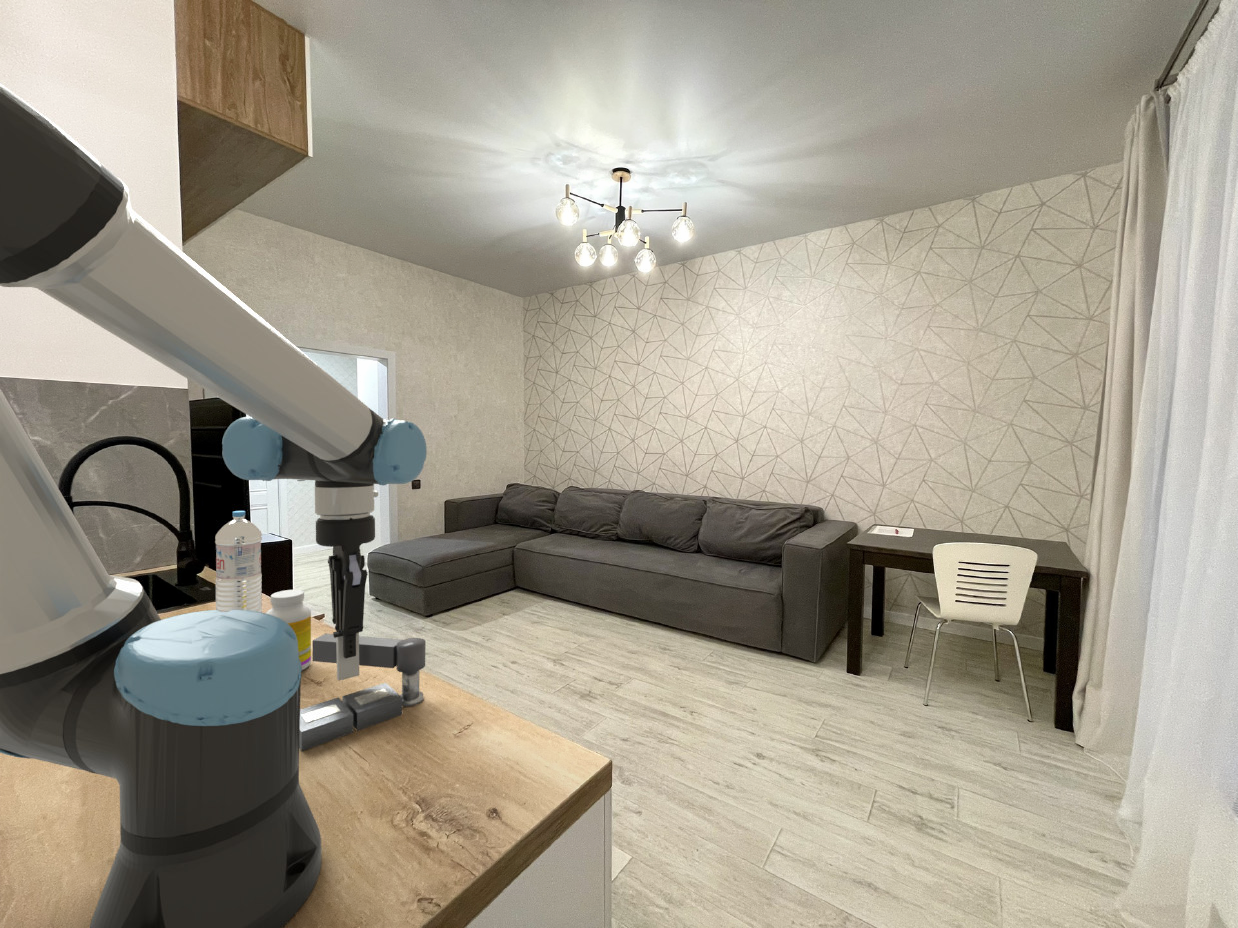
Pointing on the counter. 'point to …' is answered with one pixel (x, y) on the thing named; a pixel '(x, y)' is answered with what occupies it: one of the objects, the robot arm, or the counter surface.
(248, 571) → the water bottle
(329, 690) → the counter surface
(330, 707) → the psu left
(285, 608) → the supplement bottle
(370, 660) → the cable arm
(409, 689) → the pivot post
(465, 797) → the counter surface
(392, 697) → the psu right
